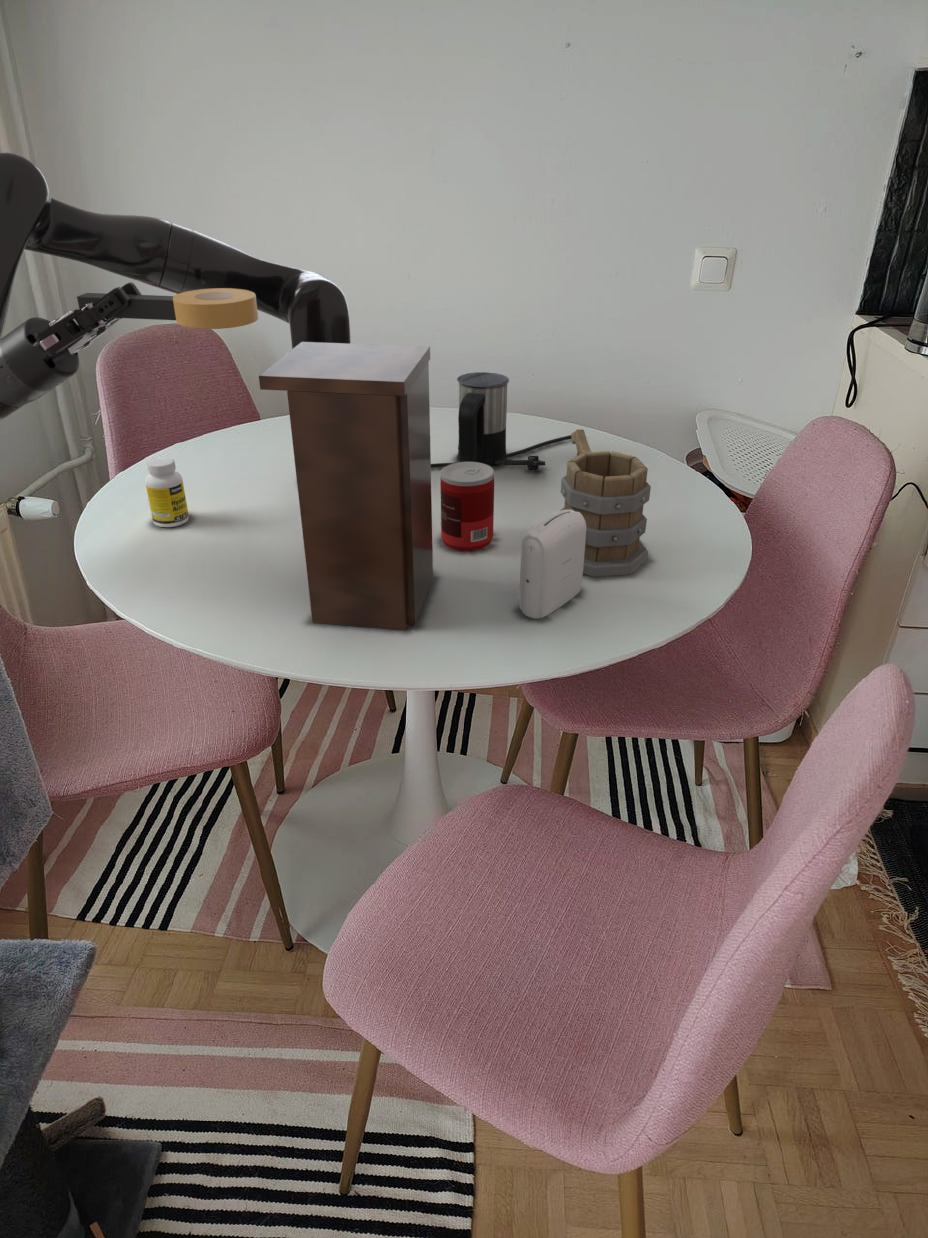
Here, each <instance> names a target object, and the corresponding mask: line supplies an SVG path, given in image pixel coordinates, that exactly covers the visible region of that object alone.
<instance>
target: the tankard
mask: <svg viewBox="0 0 928 1238" xmlns="http://www.w3.org/2000/svg"><path fill="white" fill-rule="evenodd" d="M570 435H571V439H570V440H571V444H572V445H575V448H576V456H575V457H573V458H571V459H570V460H569V461H567V462H566V475H564V476H562V478H561V481H560V494H561V495H562V497H563V498H564V506H563V508H561V509H560V510H559V511H562V510H573V511H575V512H580V513H581V514H582V516H583V517H584V519H585V522H586V540H585V554H584V566H583V575H586V576H589V577H592V578H603V577H613V576H614V577H615V576H628V575H631V574H633V572H635V571H636V570H637V569H638V568H639V567H640V566H641V565H643V564H644V563H645V562H646V561H647V560H648V556H649V550H648V549H647V548H646V546H645V545H644V544H643V542H642V541H641V540H640V539H641V537H642V536H643V535H644V534H645V533H646V529H647V523H648V522H647V521H648V518H647V517H646V516H645V514H643V513H644V506H645V504H647V503H648V502H649V501H650V497H651V489H652V486H651V485H650V483H649V482H648V481H647V480H648V471H649V469H648V467H647V466H646V465H645V464H644V463H643V461H641V460H640V458H639V457H637V456H635V455H630V454H626V453H621V452H617V451H611V452H610V450H604V451H591V448H590V445H589V443H588V439H587V435H586V432H585V430H584V429H582V428H581V429H576V430H574V431H573V432H571V434H570Z"/></svg>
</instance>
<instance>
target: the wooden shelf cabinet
mask: <svg viewBox="0 0 928 1238" xmlns="http://www.w3.org/2000/svg"><path fill="white" fill-rule="evenodd" d="M430 360H431V346H421V345H396V344H367V343H351V344H346V343H320V342H301V343H300V344H298V345H297V346H296V347H294V348H293V349H292V348H291V350H289V351H288V352H287V353H285V354H284V355H282V356H281V357H280V358H279V359H278V360H277V361H275V362H274V363H273V364H272V365H271V366H269V367H268V368H267V369H265V370H264V371H263V372H261V373H260V374H259V375H258V384H259V389H260V390H262V391H263V390H264V391H266V390H267V391H285V392H286V394H287V403H288V404H287V405H288V413H289V422H290V423H289V424H290V431H291V441H292V449H293V459H294V465H295V466H294V467H295V477H296V485H297V486H296V487H297V494H298V504H299V513H300V522H301V531H302V539H303V549H304V559H305V567H306V577H307V585H308V595H309V596H308V597H309V603H310V605H309V606H310V613H311V622H312V624H323V625H335V626H347V627H359V628H360V627H361V628H372V629H373V628H374V629H386V630H397V631H406V630H407V628H408V626H411V627H412V626H413V627H415V626H416V625H417V622H418V619H419V616H420V614H421V612H422V609H423V607H424V603H425V601H426V598H427V596H428V593H429V590H430V589H431V588H430V587H431V585H432V582H433V580H434V551H433V548H434V547H433V545H434V544H433V507H432V505H433V503H432V499H433V498H432V468H431V464H432V459H431V455H432V454H431V417H430V415H431V411H430V409H431V408H430V370H429V369H430V368H429V367H430V366H429V362H430Z"/></svg>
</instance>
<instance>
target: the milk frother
mask: <svg viewBox="0 0 928 1238" xmlns="http://www.w3.org/2000/svg"><path fill="white" fill-rule="evenodd" d="M456 381H457V383H458V414H457V415H458V416H457V418H458V422H457V423H458V443H457V444H458V445H457V455H456V461H457V462H478V463H483V464H486V465H488V466H490V467H492V468H495V467H499V466H503V465H504V466H526V467H527V470H528V471H539V467H544V466H546V463H547V462H546V461H544V460H541V459H540V458H539V455H528V456H527V459H508V458H507V457H506V454H507V412H508V384H509V382H510V378H509V376H506V375H504V374H500V373H495V372H485V371H484V372H483V371H477V372H469V373H465V374H461V375H459V376H458V377H457V378H456Z"/></svg>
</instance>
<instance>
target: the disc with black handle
mask: <svg viewBox="0 0 928 1238" xmlns="http://www.w3.org/2000/svg"><path fill="white" fill-rule="evenodd" d="M106 294H107V293H101V292H100V293H99V292H85V293H83V294H80V295H78V296H76V299H77V304H78V309H83V308H84V307H85V306H86V304H88V303H94V302H96V301H97V300H99V299H100V298H101V297H103V296H104V295H106ZM127 296H128V297H129V299H130V301H131V305H130V306H128V307H127V308H125V309H124V310H123V311H121V312H120V313H118V314H117V315H115V316H114V317H112V318H122V319H133V320H134V319H135V320H136V319H137V320H157V321H158V320H159V321H175V322H176V324H177V325H179V326H181V327H184V328H189V329H195V330H196V329H197V330H222V329H232V328H239V327H244V326H247V325H251V324H253V323H256V322H257V321H258V320H259V312H258V311H259V310H257V302H256V295H255V293H254V292H251V291H248V290H243V289H232V288H213V289H200V290H193V291H187V292H183V293H180V294H175V295H156V294H155V295H154V294H153V295H151V294H142V295H130V294H127ZM94 305H95V304H94ZM95 306H96V305H95Z"/></svg>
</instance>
